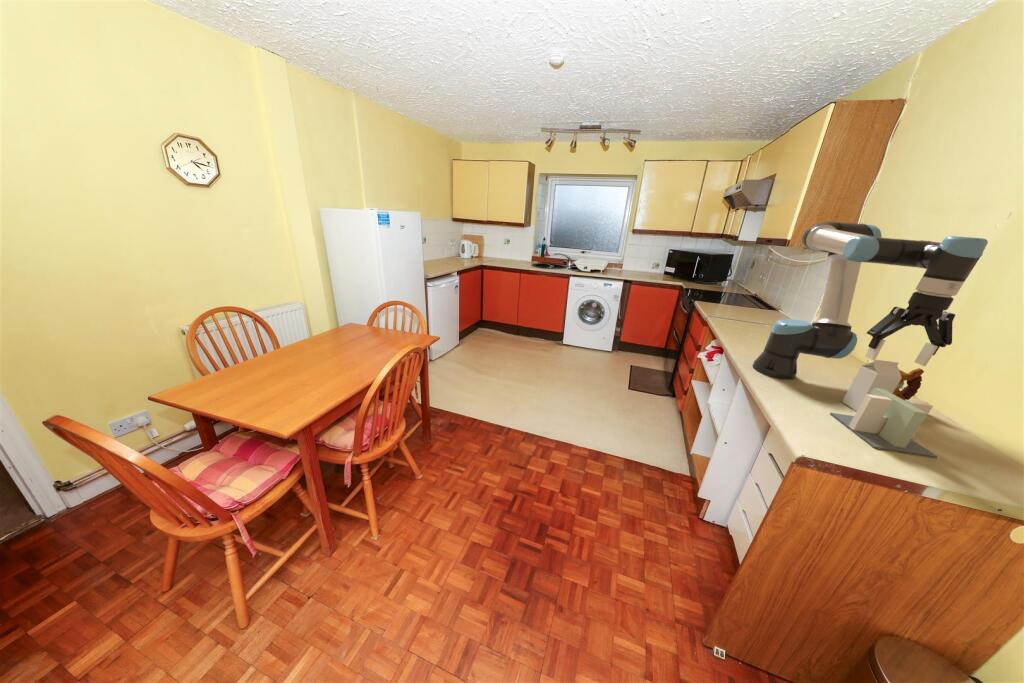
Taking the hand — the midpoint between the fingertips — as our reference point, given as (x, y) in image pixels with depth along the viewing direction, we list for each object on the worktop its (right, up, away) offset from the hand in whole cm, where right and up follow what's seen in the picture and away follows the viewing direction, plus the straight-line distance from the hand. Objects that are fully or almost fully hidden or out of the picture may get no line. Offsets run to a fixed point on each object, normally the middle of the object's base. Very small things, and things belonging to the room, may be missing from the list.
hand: (894, 361), depth 100 cm
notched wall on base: (-2, -23, +3) cm, 23 cm away
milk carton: (+8, -18, +17) cm, 26 cm away
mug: (+23, -17, +25) cm, 38 cm away
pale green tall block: (-2, -23, +2) cm, 23 cm away
